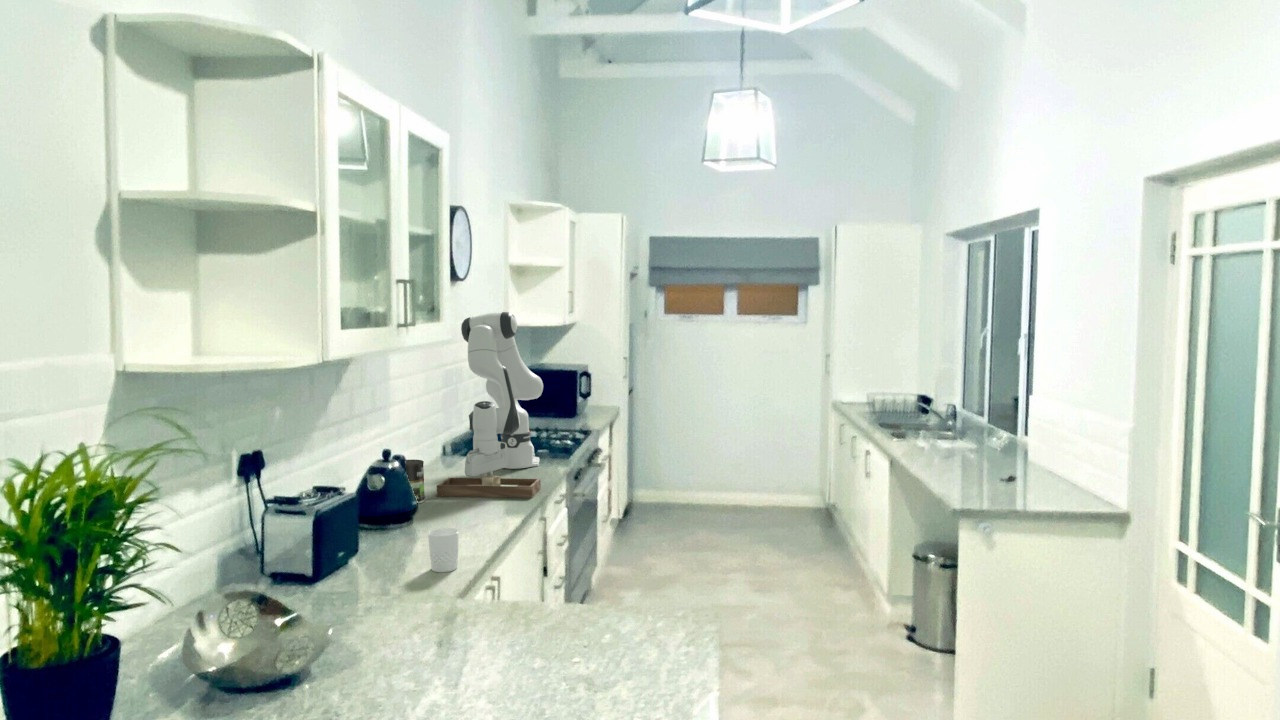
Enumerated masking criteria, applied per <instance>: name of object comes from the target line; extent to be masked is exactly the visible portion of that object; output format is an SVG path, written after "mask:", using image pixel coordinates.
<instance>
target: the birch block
mask: <svg viewBox="0 0 1280 720" xmlns="http://www.w3.org/2000/svg"><path fill="white" fill-rule="evenodd" d="M500 478H501V476H500V475H494V474H493V475H489V476H487V475H486V477H482V484H483V486H500Z"/></svg>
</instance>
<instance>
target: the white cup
mask: <svg viewBox="0 0 1280 720" xmlns="http://www.w3.org/2000/svg"><path fill="white" fill-rule="evenodd" d="M427 534H428V535H427V536H428V537H427V538H428V549H429V557H430V566H431V570H432V571H433V572H435V573H449V572H452V571H455V570H457V569H458V557H459V529H457V528H453V527H441V528H434V529H432V530H430V531H428V533H427Z"/></svg>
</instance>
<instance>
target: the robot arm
mask: <svg viewBox="0 0 1280 720" xmlns="http://www.w3.org/2000/svg"><path fill="white" fill-rule="evenodd" d="M460 328H461V329H460V330H461V335H462V339H463V340H464V341H465V342H466V343H467V363H468V367H469V369H470V371H471V372H472V373H473V374H475V375H476V376H478V377H480V378H482V379H486V382H485V388H486V389H485V390H486V393H487V394H488V395H489V397H491V398H492V399H493V400H494V402H495V403H496V404H497V407H496V404H495V403H494V402H492V401H488V400H486V401H485V400H484V401H478V402H476V403H475V404H474V405H473V410H472V411H471V412H470V413H469V415H468V419H469V420H468V421H469V427H468V428H469V430H470V431H471V432H472V433H473V437H472V450H471V449H470V450H469V451H468V453H467V454H466V457H465V461H464V474H465V476H466V477H468V478H475V477H477V476H478V477H479V478H481V480H482V477H486V476H489V475H494V471H497V470H501V469H511V470H513V469H515V470H516V469H525V468H531V467H532V468H533V467H539V465H540V457H539V456H536V454H535V447H534V445H533V443H532V441H531V430H530V429H529V428H530V427H529V425H530V423H529V413H528V412H527V410H526V409H524V408H522V407H521V405H520V403H519V402H518V401H520V400H521V401H530V400H535V399H536V400H537V399H538V398H539V397H541V396H542V393H543V391H544V383H543V380H542V378H541V377H540V376H539V375H537V374H535V373H534V372H533V371H531V369H529V368H528V366H527V365H526V364H525V362H524V361H523V359H522V358H521V355H520V353H519V349H518V345H517V343H516V340H515V339H516V338H515V335H516V334H517V331H518V322H517V319H516V317H515V315H514V314H512V312H508V311H502V312H488V313H486V314H480V315H476V316H469V317H466V318H465V319H464V320H463V321H462V323H461V327H460ZM498 434H500V439H501V441H499V439H498ZM482 485H483V484H482Z"/></svg>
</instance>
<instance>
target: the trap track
mask: <svg viewBox="0 0 1280 720" xmlns="http://www.w3.org/2000/svg"><path fill="white" fill-rule="evenodd" d="M540 491H541V478H511V477H509V478H502V477H500V486H483V485H482V480H481V478H480V477H447V478H446V479H444V480H443V481H441V482H440V483H438V484H436V497H439V498H440V497H444V498H447V497H448V498H449V497H451V498H453V497H454V498H457V497H458V498H506V497H517V498H516V499H524V498H526V499H527V498H528V499H532V498H534V497H535V496H536V495H537V494H538V493H539V492H540Z"/></svg>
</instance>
